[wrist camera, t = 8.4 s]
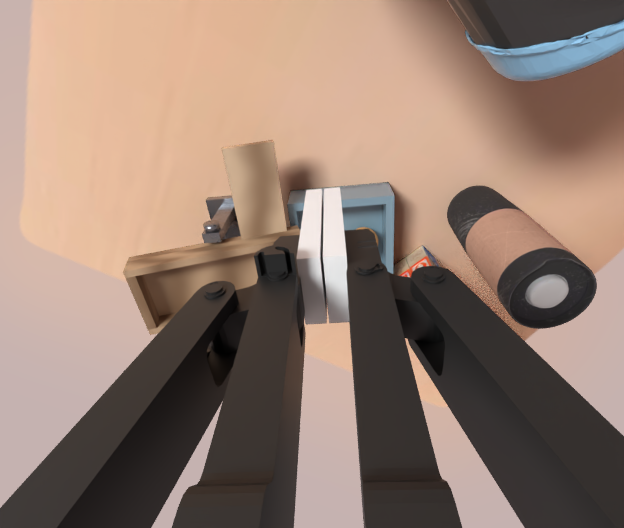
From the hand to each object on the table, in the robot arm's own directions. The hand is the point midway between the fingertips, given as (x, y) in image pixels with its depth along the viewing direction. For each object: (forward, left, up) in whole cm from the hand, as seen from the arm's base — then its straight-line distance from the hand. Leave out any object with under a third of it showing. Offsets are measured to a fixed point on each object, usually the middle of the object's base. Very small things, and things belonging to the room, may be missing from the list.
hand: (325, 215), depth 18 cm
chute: (+11, -15, -25) cm, 31 cm away
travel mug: (+14, +19, -31) cm, 39 cm away
